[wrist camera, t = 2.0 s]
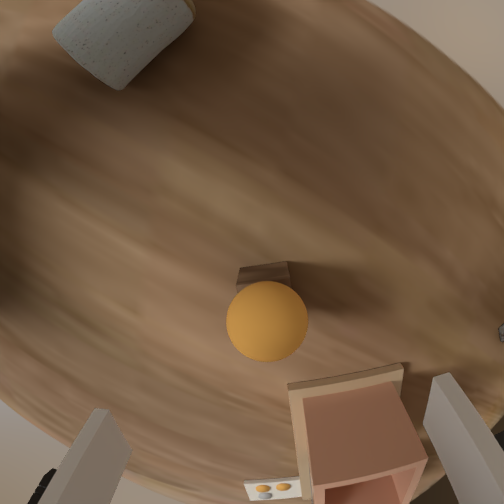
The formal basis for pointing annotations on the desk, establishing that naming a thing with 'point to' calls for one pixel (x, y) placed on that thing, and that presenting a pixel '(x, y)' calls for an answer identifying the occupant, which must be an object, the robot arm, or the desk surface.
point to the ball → (267, 321)
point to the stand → (263, 275)
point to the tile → (273, 488)
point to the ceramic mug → (121, 35)
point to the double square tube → (356, 439)
